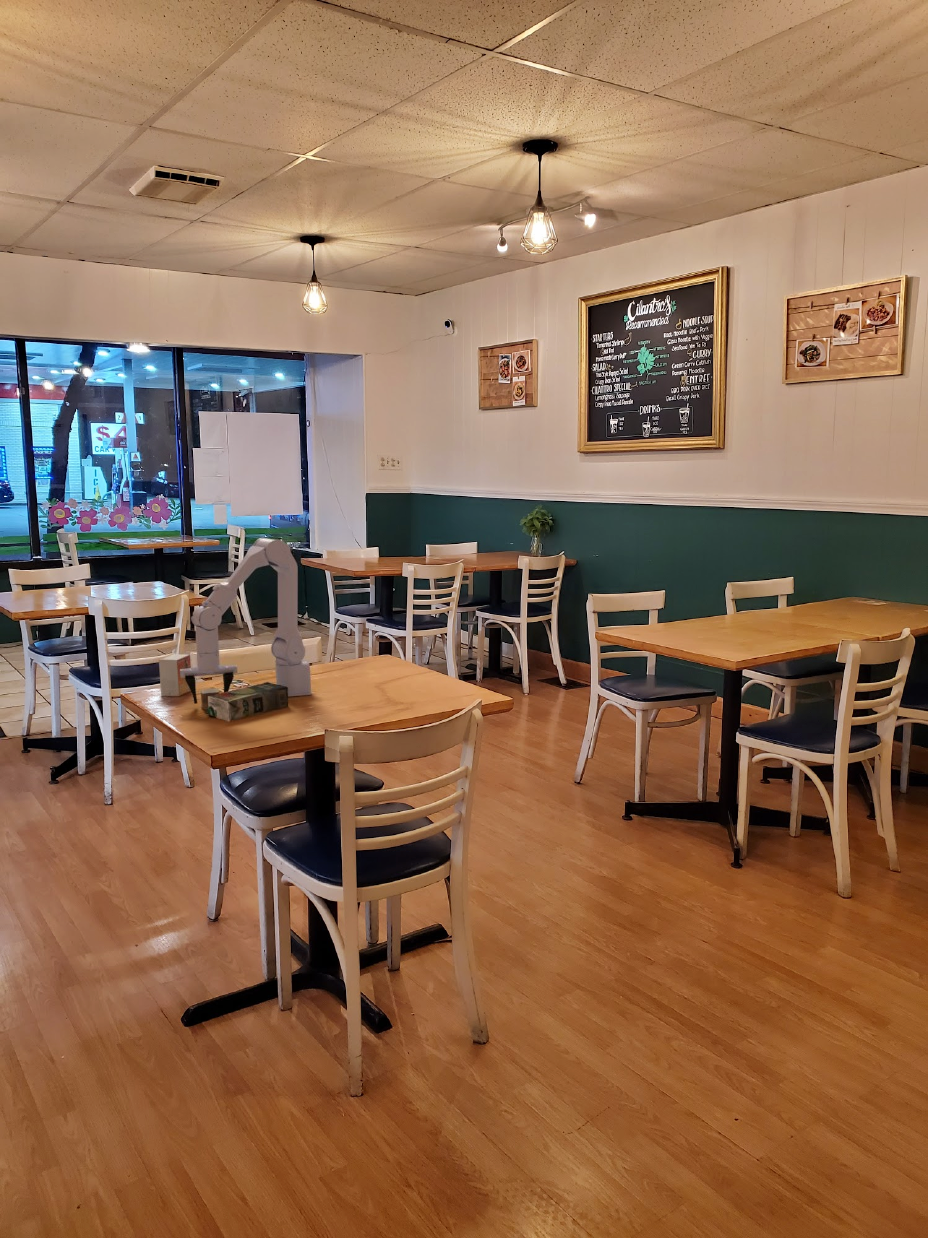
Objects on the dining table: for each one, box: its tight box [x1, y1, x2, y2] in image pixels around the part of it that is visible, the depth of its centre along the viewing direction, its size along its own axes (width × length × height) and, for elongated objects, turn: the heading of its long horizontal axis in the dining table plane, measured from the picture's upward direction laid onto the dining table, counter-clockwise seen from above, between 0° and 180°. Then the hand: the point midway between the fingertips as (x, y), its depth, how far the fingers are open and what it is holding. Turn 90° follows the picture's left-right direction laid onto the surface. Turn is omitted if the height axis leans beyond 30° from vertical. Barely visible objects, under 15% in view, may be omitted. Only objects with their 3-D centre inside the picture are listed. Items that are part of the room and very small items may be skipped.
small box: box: [158, 653, 192, 697], centre depth 263 cm, size 8×6×10 cm
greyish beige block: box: [200, 687, 220, 710], centre depth 248 cm, size 4×4×4 cm
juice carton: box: [206, 681, 289, 722], centre depth 244 cm, size 20×10×6 cm, turn 139°
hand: (210, 701), depth 249 cm, fingers open, 7 cm apart
